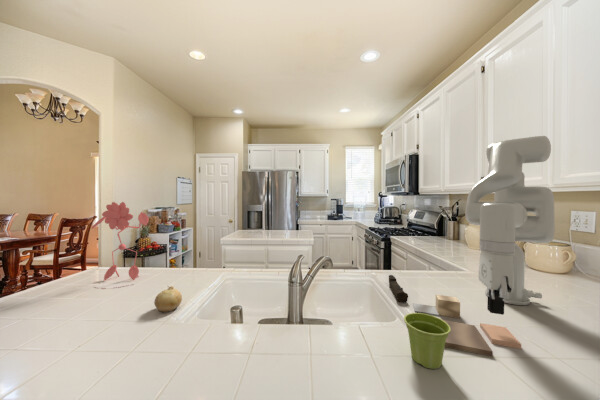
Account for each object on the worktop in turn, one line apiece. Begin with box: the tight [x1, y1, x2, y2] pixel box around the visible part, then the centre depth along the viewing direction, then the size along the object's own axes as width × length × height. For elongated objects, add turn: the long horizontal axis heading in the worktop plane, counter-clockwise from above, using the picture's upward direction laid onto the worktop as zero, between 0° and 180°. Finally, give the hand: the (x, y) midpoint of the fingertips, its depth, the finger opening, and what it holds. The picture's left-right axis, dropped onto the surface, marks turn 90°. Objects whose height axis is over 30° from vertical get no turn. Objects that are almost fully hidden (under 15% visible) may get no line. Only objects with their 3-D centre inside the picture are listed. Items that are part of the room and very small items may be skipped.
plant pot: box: [403, 312, 451, 370], centre depth 53 cm, size 9×9×9 cm
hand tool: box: [388, 274, 409, 303], centre depth 91 cm, size 19×4×5 cm, turn 169°
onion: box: [153, 285, 183, 313], centre depth 76 cm, size 8×8×7 cm
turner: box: [412, 294, 461, 319], centre depth 76 cm, size 13×6×5 cm, turn 69°
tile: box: [479, 322, 522, 350], centre depth 62 cm, size 6×2×8 cm
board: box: [442, 319, 494, 357], centre depth 62 cm, size 14×12×1 cm
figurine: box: [91, 201, 150, 290], centre depth 99 cm, size 15×26×35 cm, turn 89°
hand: (495, 312), depth 64 cm, fingers closed
